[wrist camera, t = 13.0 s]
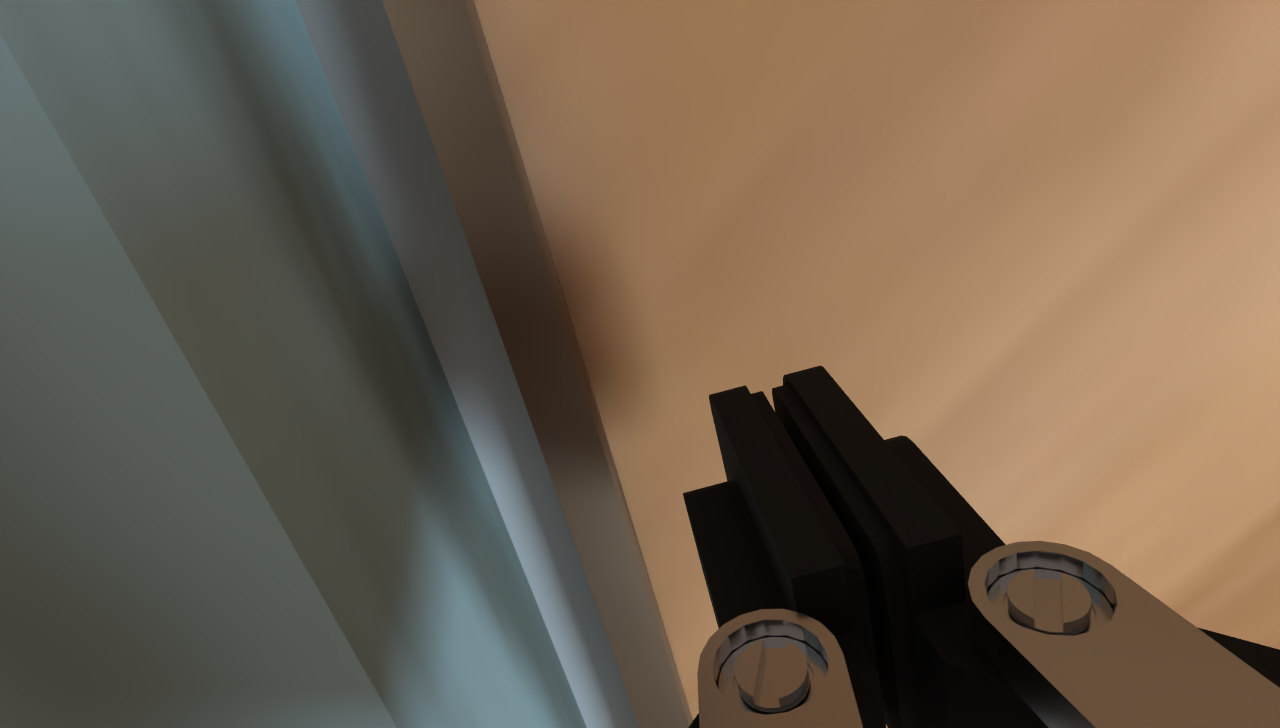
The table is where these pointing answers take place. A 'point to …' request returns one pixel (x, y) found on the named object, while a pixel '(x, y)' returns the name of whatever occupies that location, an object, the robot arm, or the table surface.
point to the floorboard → (501, 333)
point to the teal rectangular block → (228, 404)
